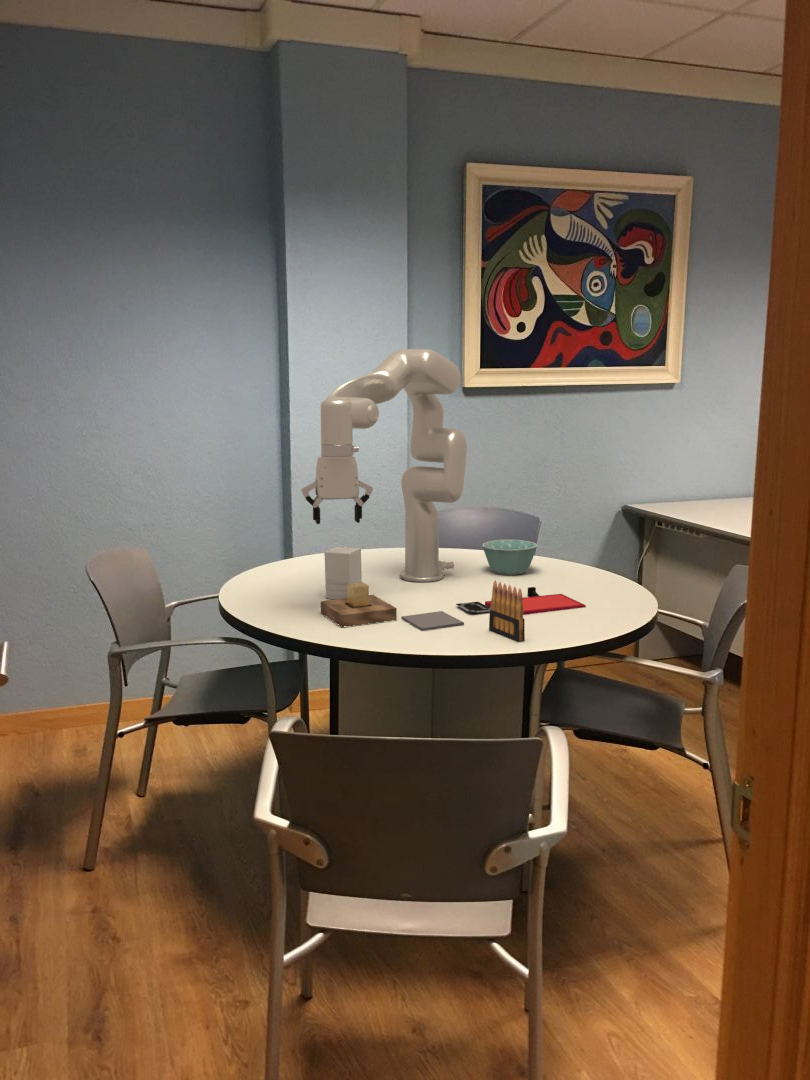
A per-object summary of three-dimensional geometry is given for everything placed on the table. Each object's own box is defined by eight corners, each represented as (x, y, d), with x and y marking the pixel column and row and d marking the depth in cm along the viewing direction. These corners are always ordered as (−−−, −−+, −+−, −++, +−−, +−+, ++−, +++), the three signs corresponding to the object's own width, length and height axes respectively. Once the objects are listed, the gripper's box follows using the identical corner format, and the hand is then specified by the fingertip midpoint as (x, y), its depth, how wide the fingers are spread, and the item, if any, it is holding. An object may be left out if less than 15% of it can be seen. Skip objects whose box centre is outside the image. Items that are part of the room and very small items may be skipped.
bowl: (471, 572, 269) (471, 544, 267) (502, 563, 281) (502, 536, 279) (516, 580, 259) (517, 552, 257) (546, 571, 271) (547, 543, 269)
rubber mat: (441, 613, 227) (441, 611, 226) (463, 624, 217) (463, 622, 217) (401, 618, 222) (401, 616, 222) (422, 630, 212) (422, 628, 212)
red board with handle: (451, 605, 234) (478, 622, 221) (452, 594, 233) (479, 610, 220) (553, 595, 246) (585, 610, 232) (553, 585, 245) (585, 599, 232)
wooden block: (362, 613, 227) (362, 582, 225) (369, 617, 223) (368, 585, 221) (347, 615, 225) (346, 583, 223) (353, 619, 221) (353, 587, 220)
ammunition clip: (488, 630, 213) (489, 579, 210) (495, 629, 214) (495, 578, 211) (518, 642, 204) (519, 589, 201) (524, 641, 205) (526, 588, 202)
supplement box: (362, 595, 244) (362, 548, 242) (349, 601, 238) (348, 553, 235) (338, 592, 247) (337, 545, 245) (324, 598, 241) (323, 551, 238)
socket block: (372, 606, 233) (372, 594, 233) (396, 620, 221) (396, 608, 220) (320, 612, 227) (320, 601, 227) (342, 627, 215) (341, 615, 214)
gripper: (369, 449, 226) (369, 518, 229) (298, 450, 221) (299, 521, 225) (375, 452, 218) (375, 523, 222) (302, 453, 214) (304, 526, 217)
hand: (337, 522), depth 223 cm, fingers open, 9 cm apart
